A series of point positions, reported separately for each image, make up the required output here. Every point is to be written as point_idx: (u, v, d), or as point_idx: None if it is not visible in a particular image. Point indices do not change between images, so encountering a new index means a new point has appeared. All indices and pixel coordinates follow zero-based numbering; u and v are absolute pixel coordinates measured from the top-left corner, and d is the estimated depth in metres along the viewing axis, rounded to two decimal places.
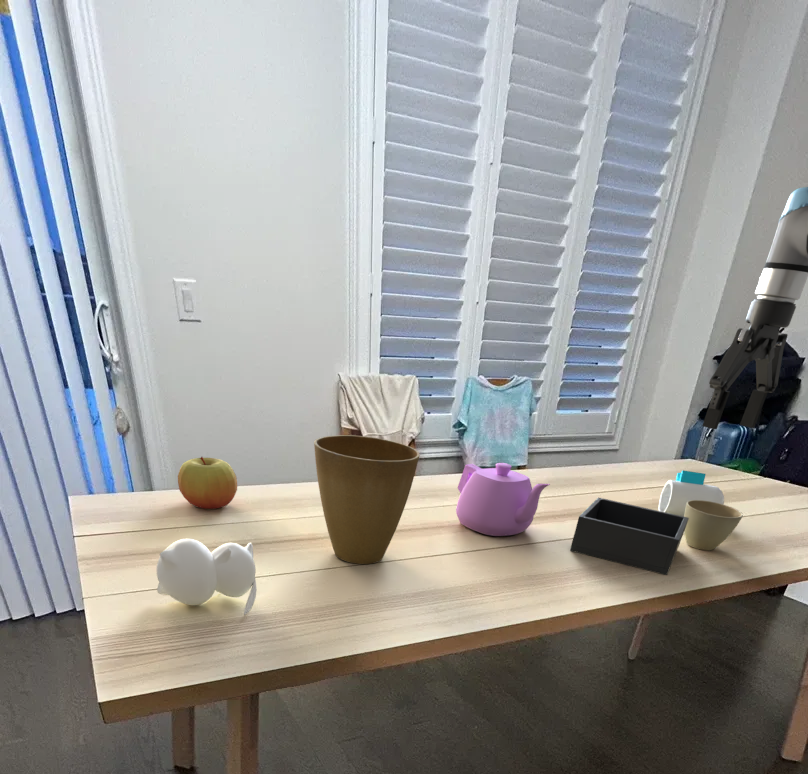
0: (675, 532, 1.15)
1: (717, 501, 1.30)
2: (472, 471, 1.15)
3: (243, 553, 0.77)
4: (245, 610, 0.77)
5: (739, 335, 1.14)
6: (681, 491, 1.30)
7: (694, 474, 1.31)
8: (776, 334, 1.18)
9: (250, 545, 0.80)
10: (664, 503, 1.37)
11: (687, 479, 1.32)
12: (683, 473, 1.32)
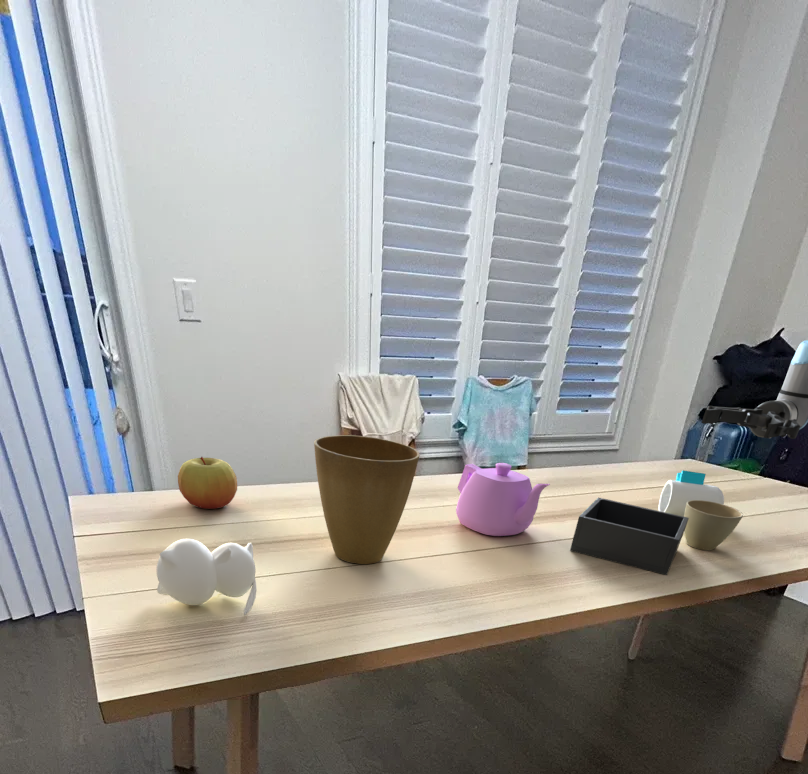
0: (675, 532, 1.15)
1: (717, 501, 1.30)
2: (472, 471, 1.15)
3: (243, 553, 0.77)
4: (245, 610, 0.77)
5: None
6: (681, 491, 1.30)
7: (694, 474, 1.31)
8: None
9: (250, 545, 0.80)
10: (664, 503, 1.37)
11: (686, 479, 1.32)
12: (683, 473, 1.32)
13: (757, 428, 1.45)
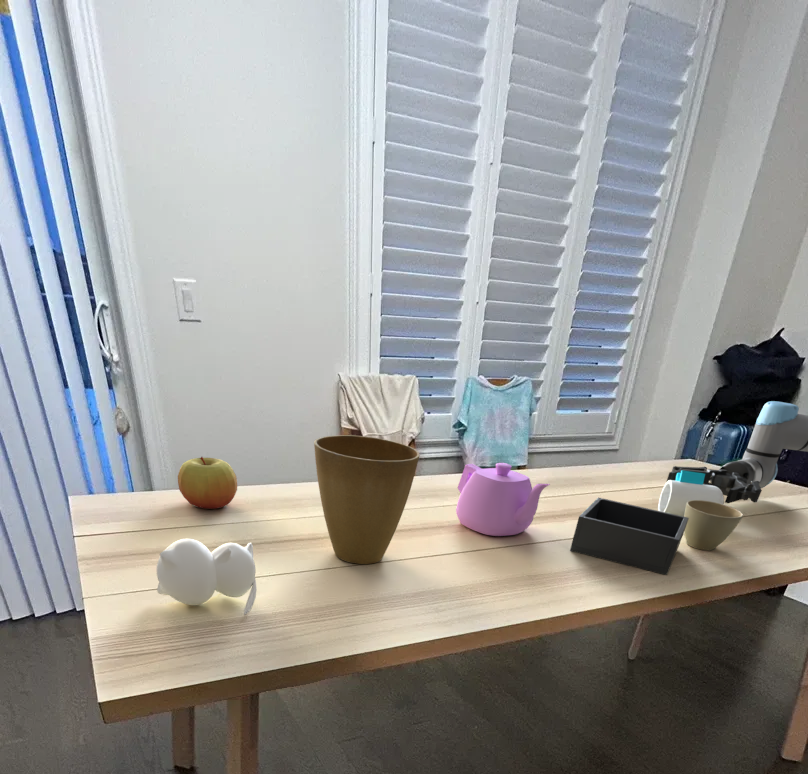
0: (675, 532, 1.15)
1: (717, 501, 1.30)
2: (472, 471, 1.15)
3: (243, 553, 0.77)
4: (245, 610, 0.77)
5: None
6: (680, 491, 1.30)
7: (694, 474, 1.31)
8: (742, 478, 1.43)
9: (250, 545, 0.80)
10: (664, 503, 1.37)
11: (686, 479, 1.32)
12: (683, 473, 1.32)
13: (722, 487, 1.47)
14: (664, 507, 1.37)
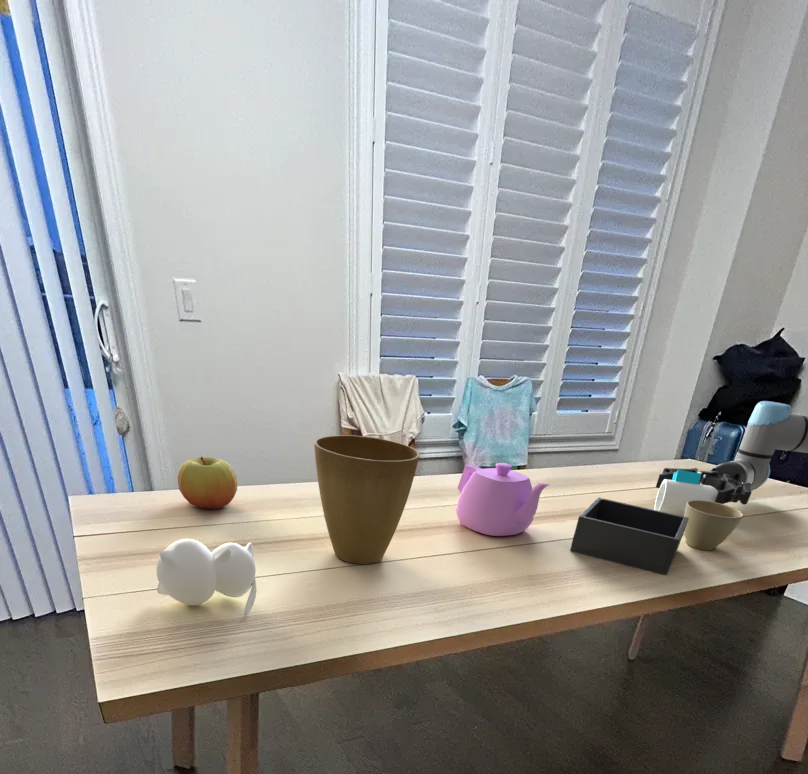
0: (675, 532, 1.15)
1: (712, 501, 1.30)
2: (472, 471, 1.15)
3: (243, 553, 0.77)
4: (245, 610, 0.77)
5: None
6: (675, 490, 1.30)
7: (690, 474, 1.31)
8: (734, 479, 1.40)
9: (250, 545, 0.80)
10: (660, 502, 1.37)
11: (682, 478, 1.32)
12: (678, 472, 1.32)
13: None
14: None
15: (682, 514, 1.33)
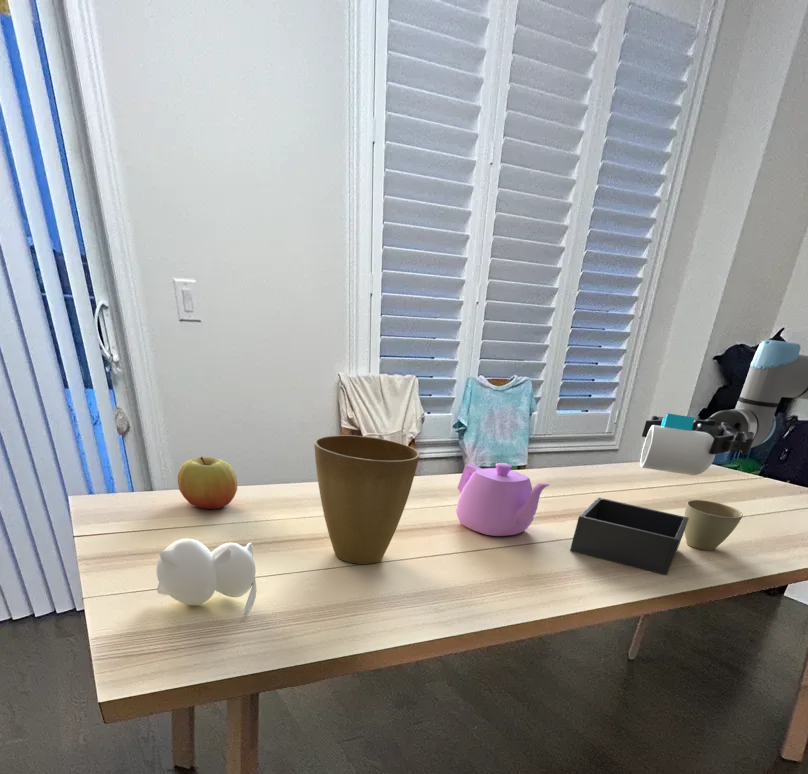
0: (675, 532, 1.15)
1: (707, 449, 1.10)
2: (472, 471, 1.15)
3: (243, 553, 0.77)
4: (245, 610, 0.77)
5: None
6: (663, 437, 1.11)
7: (681, 418, 1.12)
8: (734, 429, 1.20)
9: (250, 545, 0.80)
10: (647, 454, 1.18)
11: (672, 424, 1.12)
12: (668, 417, 1.12)
13: None
14: None
15: (672, 466, 1.13)
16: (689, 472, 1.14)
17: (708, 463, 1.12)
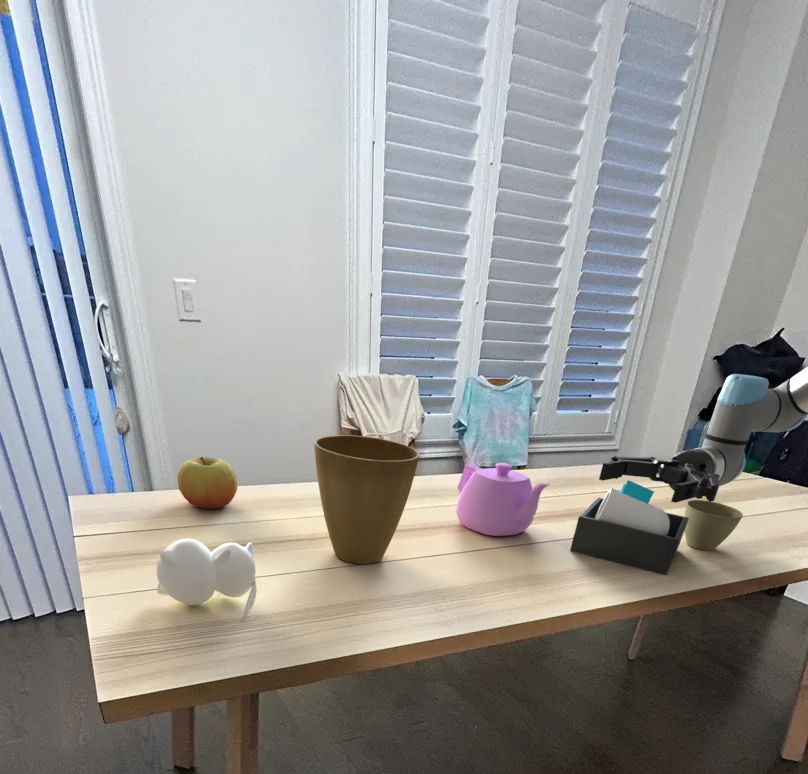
0: (675, 532, 1.15)
1: (659, 526, 1.05)
2: (472, 471, 1.15)
3: (243, 553, 0.77)
4: (245, 610, 0.77)
5: None
6: (619, 502, 1.05)
7: (640, 488, 1.07)
8: (698, 470, 1.13)
9: (250, 545, 0.80)
10: None
11: (630, 492, 1.07)
12: (628, 484, 1.07)
13: (675, 482, 1.17)
14: None
15: None
16: None
17: None
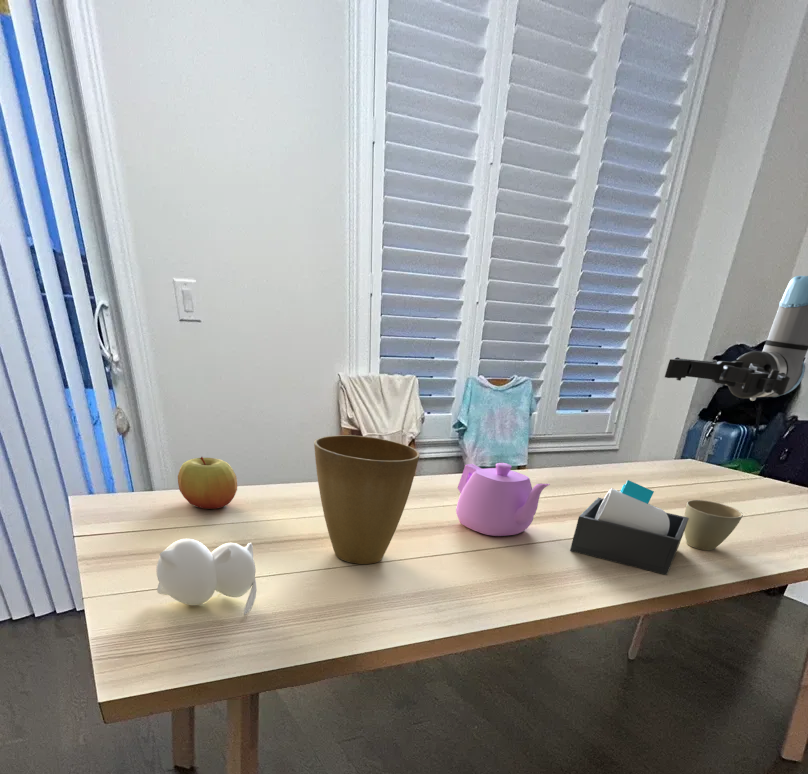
0: (675, 532, 1.15)
1: (659, 526, 1.05)
2: (472, 471, 1.15)
3: (243, 553, 0.77)
4: (245, 610, 0.77)
5: None
6: (619, 502, 1.05)
7: (640, 488, 1.07)
8: None
9: (250, 545, 0.80)
10: None
11: (630, 492, 1.07)
12: (627, 484, 1.07)
13: (737, 387, 1.16)
14: None
15: None
16: None
17: None
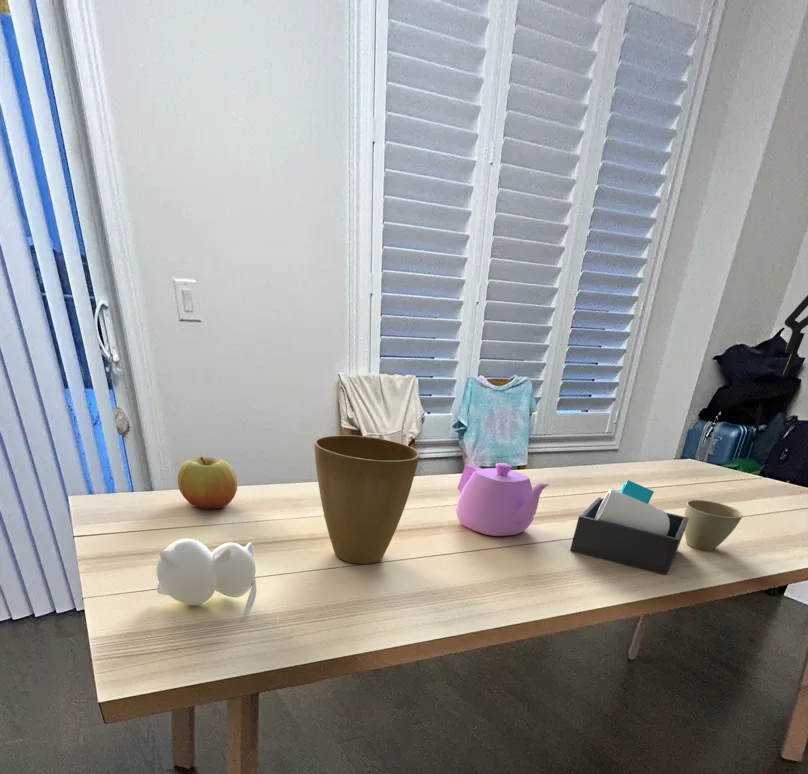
0: (675, 532, 1.15)
1: (659, 526, 1.05)
2: (472, 471, 1.15)
3: (243, 553, 0.77)
4: (245, 610, 0.77)
5: None
6: (619, 502, 1.05)
7: (640, 488, 1.07)
8: None
9: (250, 545, 0.80)
10: None
11: (630, 492, 1.07)
12: (627, 484, 1.07)
13: None
14: None
15: None
16: None
17: None
